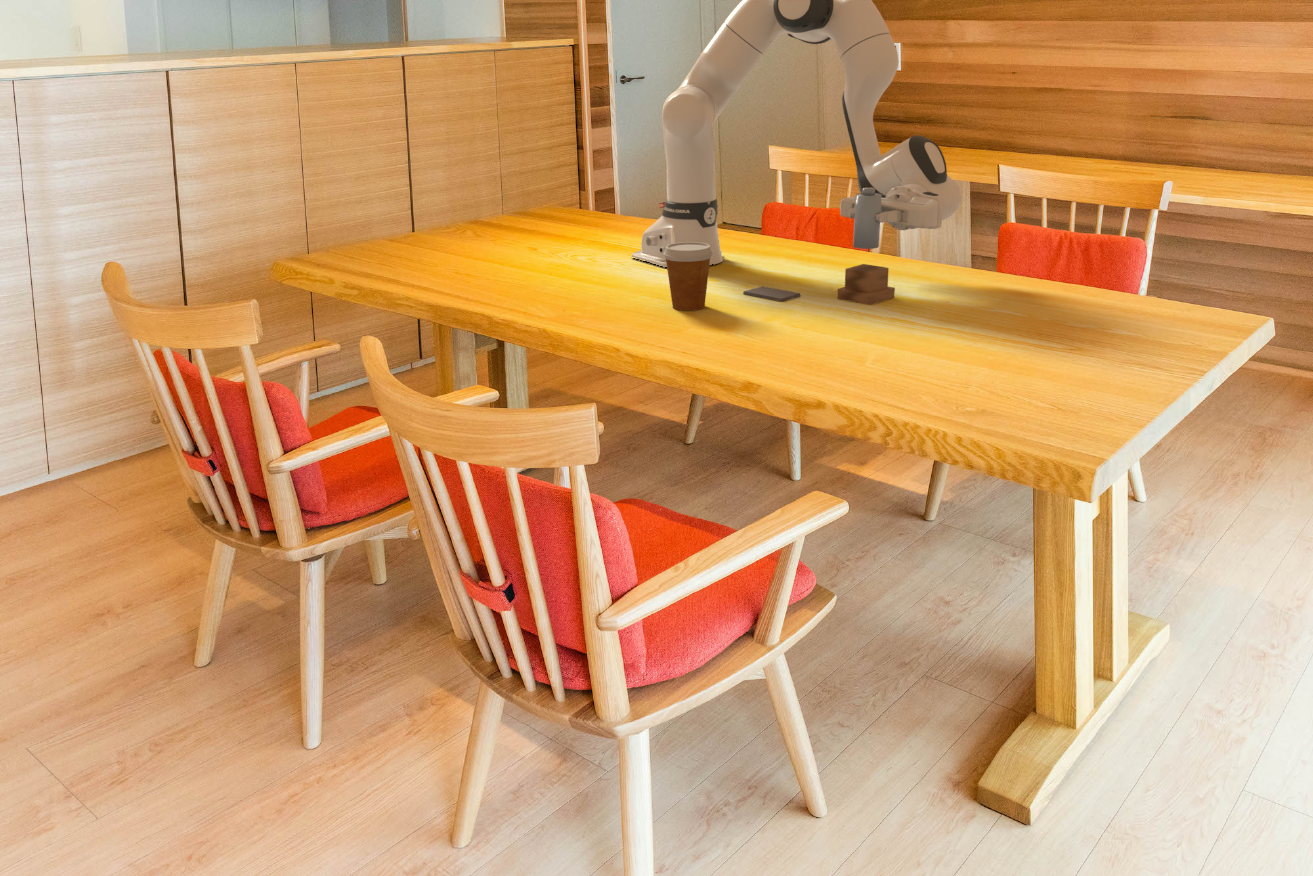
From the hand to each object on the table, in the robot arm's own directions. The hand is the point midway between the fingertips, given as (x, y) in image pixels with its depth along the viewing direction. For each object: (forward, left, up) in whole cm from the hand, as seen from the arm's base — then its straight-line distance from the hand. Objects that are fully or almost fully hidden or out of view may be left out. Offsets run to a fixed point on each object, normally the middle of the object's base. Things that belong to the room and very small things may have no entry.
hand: (864, 216), depth 220 cm
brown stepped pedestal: (0, +1, -16) cm, 16 cm away
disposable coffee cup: (-22, -27, -17) cm, 38 cm away
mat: (-16, -9, -16) cm, 24 cm away
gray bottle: (0, +1, -6) cm, 6 cm away
